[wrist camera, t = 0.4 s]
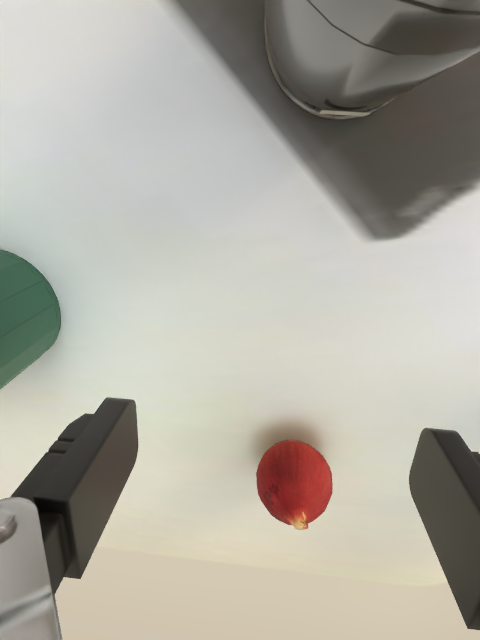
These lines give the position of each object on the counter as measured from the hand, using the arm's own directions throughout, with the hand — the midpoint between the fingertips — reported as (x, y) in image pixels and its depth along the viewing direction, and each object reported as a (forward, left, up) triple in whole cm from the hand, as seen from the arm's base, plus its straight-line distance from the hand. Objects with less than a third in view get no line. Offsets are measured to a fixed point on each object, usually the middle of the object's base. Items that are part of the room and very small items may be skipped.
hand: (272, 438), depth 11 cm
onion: (+15, +3, -18) cm, 24 cm away
